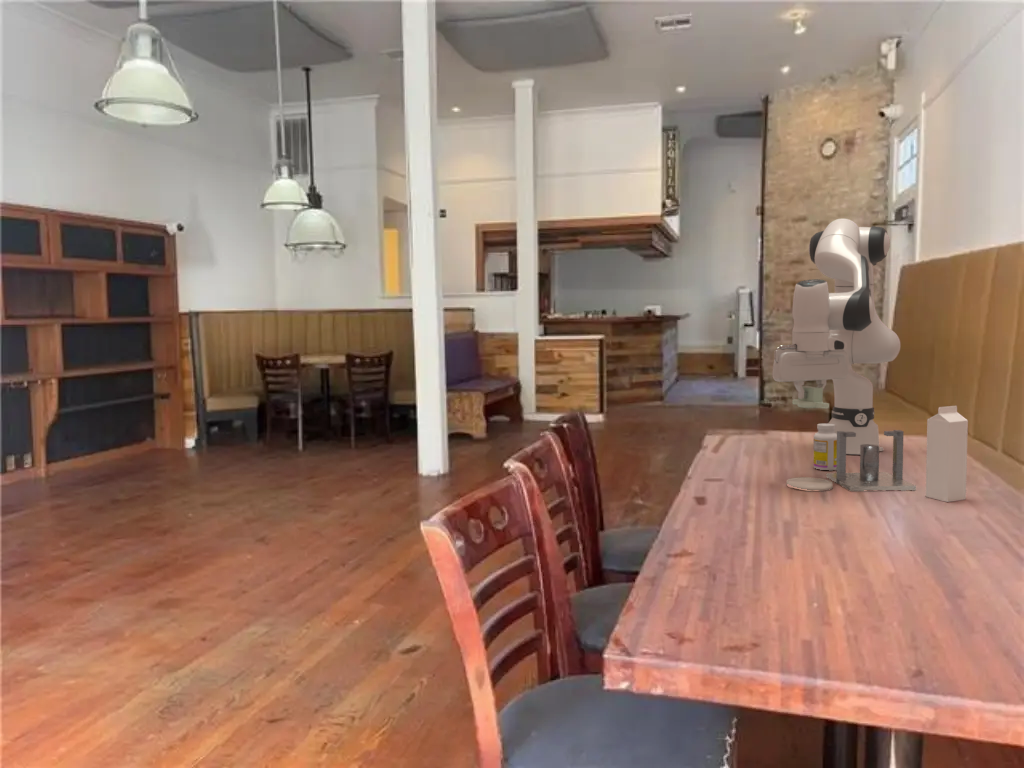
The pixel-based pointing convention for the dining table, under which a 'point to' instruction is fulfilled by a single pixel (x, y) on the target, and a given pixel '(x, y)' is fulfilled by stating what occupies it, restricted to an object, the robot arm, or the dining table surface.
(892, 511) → the dining table surface
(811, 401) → the pale green disc-and-bar piece
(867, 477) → the twin post base plate
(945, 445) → the milk
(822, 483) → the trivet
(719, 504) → the dining table surface
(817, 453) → the supplement bottle
